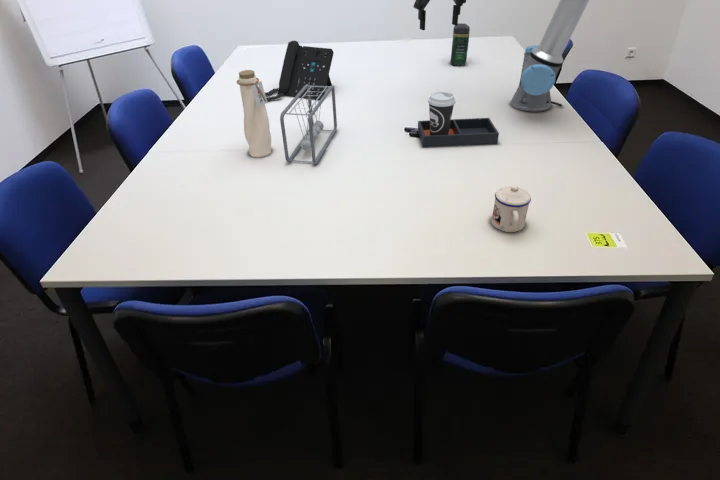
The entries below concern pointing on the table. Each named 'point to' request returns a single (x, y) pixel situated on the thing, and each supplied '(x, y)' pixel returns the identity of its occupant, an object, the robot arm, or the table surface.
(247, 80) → the water bottle
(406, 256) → the table surface
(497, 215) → the teacup with lid
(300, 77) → the office phone
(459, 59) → the green shampoo bottle
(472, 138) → the divided storage tray
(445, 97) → the coffee cup
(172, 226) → the table surface
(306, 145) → the newton's cradle
